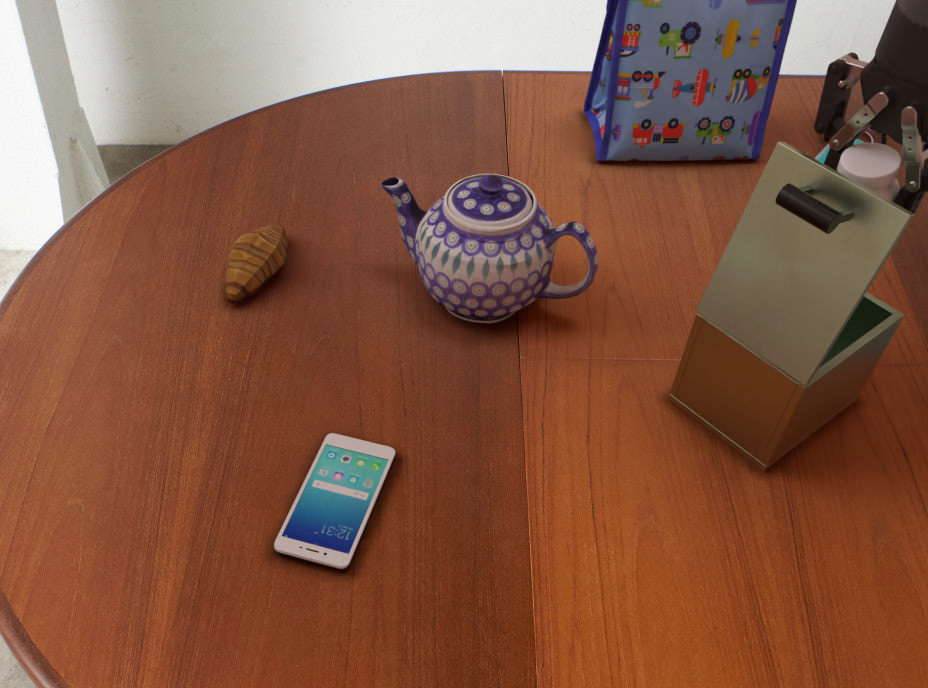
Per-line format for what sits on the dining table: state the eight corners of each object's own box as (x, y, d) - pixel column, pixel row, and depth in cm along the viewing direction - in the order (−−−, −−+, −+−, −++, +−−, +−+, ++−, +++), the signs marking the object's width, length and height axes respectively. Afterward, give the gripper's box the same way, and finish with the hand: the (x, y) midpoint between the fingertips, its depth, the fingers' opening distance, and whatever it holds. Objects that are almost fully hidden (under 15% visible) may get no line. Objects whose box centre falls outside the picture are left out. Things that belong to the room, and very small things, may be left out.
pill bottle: (860, 227, 87) (887, 131, 79) (892, 265, 84) (923, 169, 76) (801, 243, 87) (822, 149, 79) (830, 282, 84) (855, 187, 76)
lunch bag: (733, 108, 133) (804, -125, 109) (758, 164, 124) (841, -75, 101) (580, 110, 132) (619, -124, 108) (596, 167, 123) (642, -74, 100)
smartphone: (398, 448, 93) (347, 569, 84) (398, 453, 94) (348, 574, 85) (327, 430, 94) (270, 548, 85) (328, 436, 95) (271, 553, 86)
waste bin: (761, 335, 105) (797, 248, 95) (856, 400, 99) (905, 314, 90) (667, 399, 99) (696, 313, 89) (763, 471, 93) (805, 388, 84)
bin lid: (782, 140, 78) (751, 146, 75) (915, 214, 72) (887, 223, 70) (699, 308, 89) (670, 319, 86) (809, 383, 83) (781, 397, 81)
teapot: (607, 288, 109) (633, 174, 97) (558, 371, 101) (580, 258, 89) (414, 224, 116) (416, 110, 104) (353, 298, 107) (348, 183, 95)
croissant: (261, 315, 105) (255, 280, 101) (206, 301, 107) (199, 266, 103) (308, 243, 113) (304, 208, 109) (256, 231, 114) (251, 196, 110)
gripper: (1073, 27, 66) (958, 228, 79) (896, -46, 72) (818, 151, 86) (1017, 61, 63) (908, 263, 77) (838, -18, 70) (766, 181, 83)
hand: (860, 203), depth 81 cm, fingers closed on pill bottle, 6 cm apart
